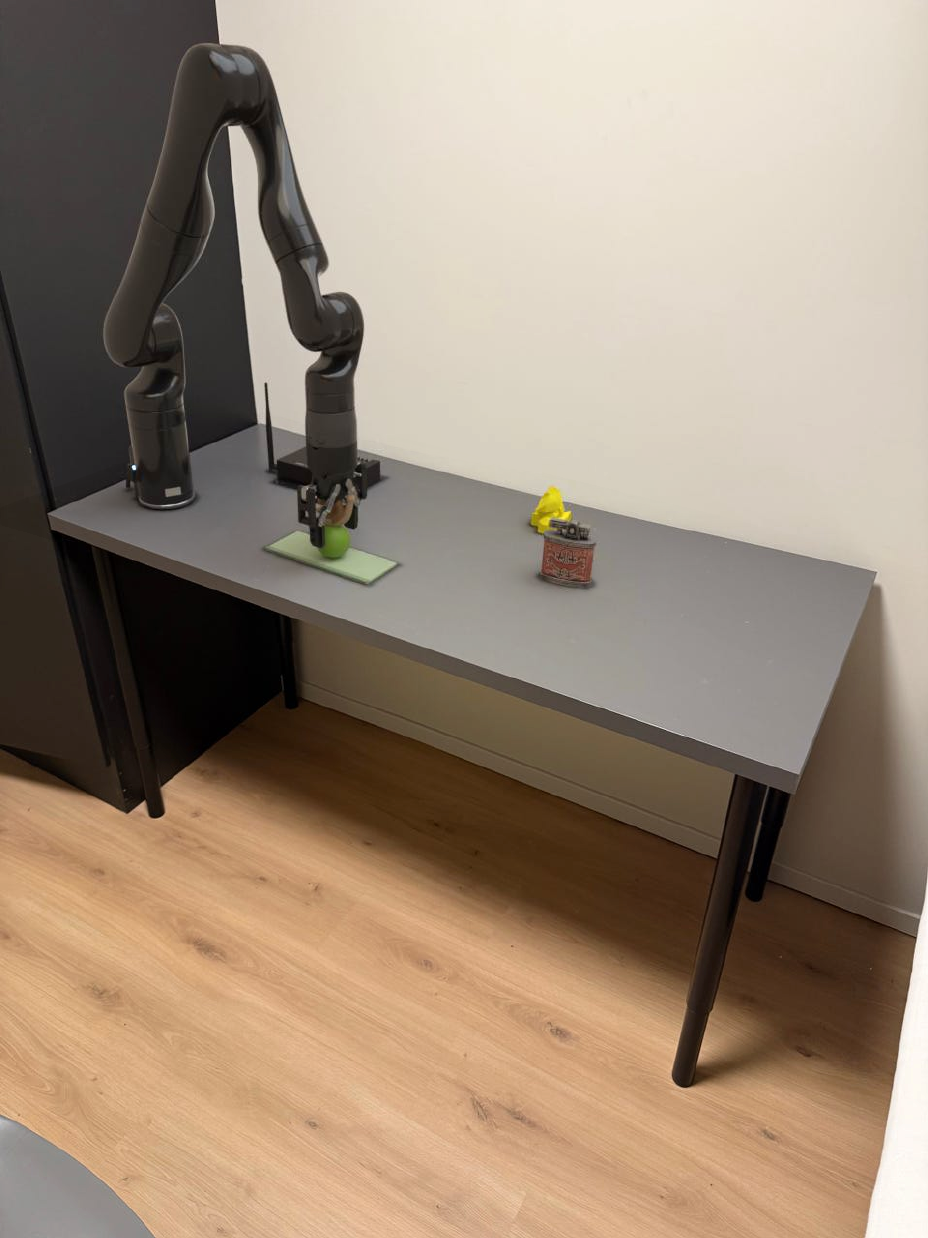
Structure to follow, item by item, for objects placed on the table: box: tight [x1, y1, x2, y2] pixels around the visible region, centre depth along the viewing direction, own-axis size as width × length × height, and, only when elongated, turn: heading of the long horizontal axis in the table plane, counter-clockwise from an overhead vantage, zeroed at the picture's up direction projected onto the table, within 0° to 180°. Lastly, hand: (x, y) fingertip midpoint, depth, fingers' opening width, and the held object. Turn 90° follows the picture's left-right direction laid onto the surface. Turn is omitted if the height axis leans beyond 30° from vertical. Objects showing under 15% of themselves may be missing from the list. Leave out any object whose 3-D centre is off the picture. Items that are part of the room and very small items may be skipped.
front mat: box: [264, 530, 398, 586], centre depth 146 cm, size 20×8×1 cm, turn 59°
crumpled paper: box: [530, 485, 572, 535], centre depth 158 cm, size 6×8×8 cm
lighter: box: [539, 518, 597, 589], centre depth 140 cm, size 8×3×10 cm, turn 71°
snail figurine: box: [316, 487, 355, 558], centre depth 142 cm, size 5×6×12 cm
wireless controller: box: [263, 382, 385, 503], centre depth 169 cm, size 20×14×17 cm
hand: (334, 536), depth 143 cm, fingers open, 7 cm apart
